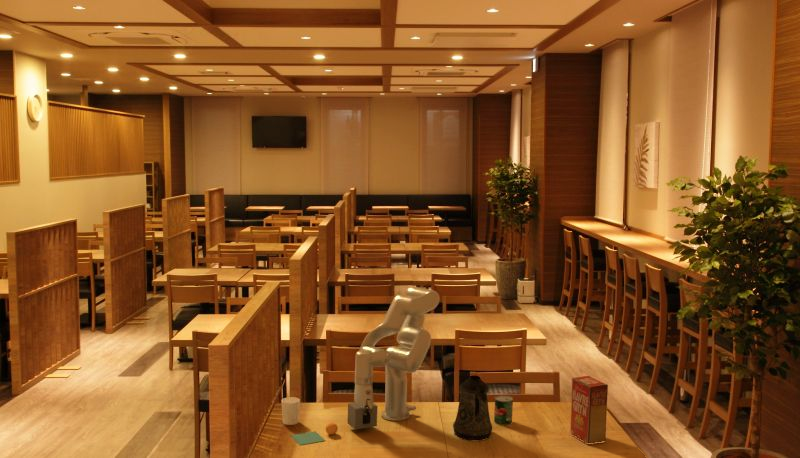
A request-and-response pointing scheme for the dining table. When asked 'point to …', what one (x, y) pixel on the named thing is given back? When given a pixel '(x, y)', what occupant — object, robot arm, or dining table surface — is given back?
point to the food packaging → (589, 409)
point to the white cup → (290, 410)
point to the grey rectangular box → (360, 416)
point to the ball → (331, 428)
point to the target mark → (307, 438)
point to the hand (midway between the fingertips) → (362, 420)
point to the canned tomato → (503, 410)
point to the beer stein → (473, 411)
